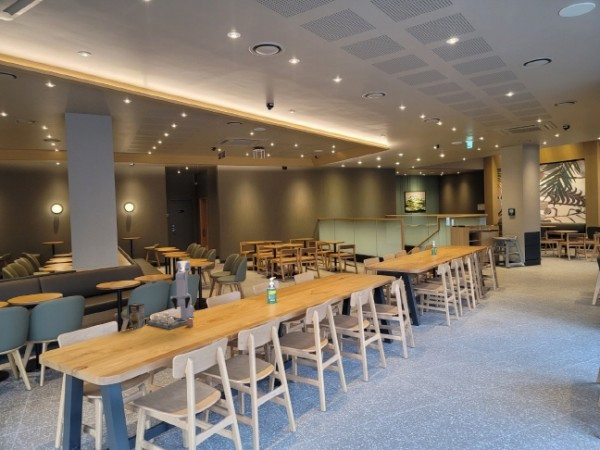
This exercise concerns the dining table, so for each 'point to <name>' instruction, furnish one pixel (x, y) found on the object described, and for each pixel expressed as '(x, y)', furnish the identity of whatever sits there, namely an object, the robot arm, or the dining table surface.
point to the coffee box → (136, 315)
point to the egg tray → (167, 321)
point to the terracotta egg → (190, 322)
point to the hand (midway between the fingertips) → (181, 308)
